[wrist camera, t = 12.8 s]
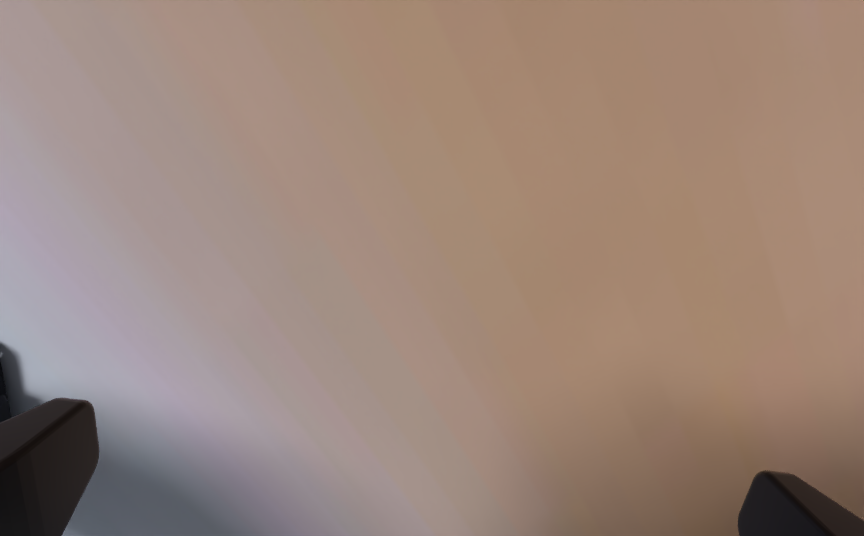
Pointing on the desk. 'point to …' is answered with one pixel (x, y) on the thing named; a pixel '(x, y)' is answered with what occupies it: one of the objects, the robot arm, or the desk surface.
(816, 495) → the robot arm
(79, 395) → the desk surface
